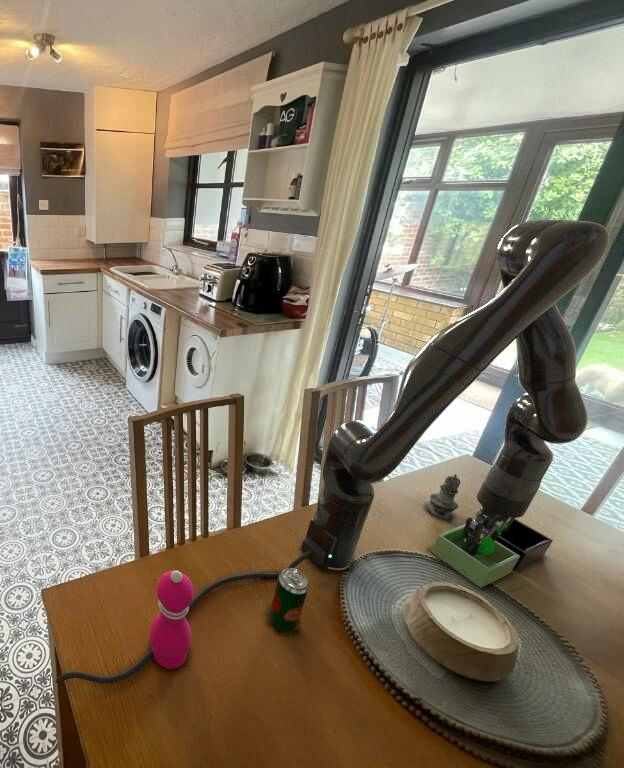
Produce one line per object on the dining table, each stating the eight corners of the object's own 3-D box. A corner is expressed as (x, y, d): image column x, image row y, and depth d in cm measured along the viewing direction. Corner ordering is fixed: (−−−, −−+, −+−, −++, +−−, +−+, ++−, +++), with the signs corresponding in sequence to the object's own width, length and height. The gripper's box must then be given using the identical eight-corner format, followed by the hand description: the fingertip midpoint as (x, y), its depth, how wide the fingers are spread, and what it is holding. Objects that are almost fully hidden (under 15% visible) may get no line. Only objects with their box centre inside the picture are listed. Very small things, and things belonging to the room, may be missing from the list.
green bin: (480, 588, 85) (490, 570, 83) (430, 551, 94) (438, 535, 91) (510, 573, 88) (520, 556, 86) (459, 539, 97) (467, 523, 95)
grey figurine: (458, 521, 102) (476, 483, 97) (431, 518, 103) (448, 480, 98) (445, 505, 107) (462, 468, 102) (420, 502, 108) (436, 465, 103)
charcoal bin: (515, 570, 89) (525, 553, 87) (464, 537, 98) (472, 520, 95) (542, 556, 92) (553, 540, 90) (491, 525, 101) (499, 509, 99)
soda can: (283, 639, 75) (296, 595, 70) (262, 616, 79) (273, 572, 74) (302, 627, 77) (316, 583, 72) (281, 605, 81) (292, 562, 76)
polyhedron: (493, 563, 87) (502, 547, 85) (464, 555, 89) (472, 539, 86) (485, 546, 91) (494, 530, 89) (458, 539, 93) (466, 523, 91)
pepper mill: (179, 680, 69) (189, 601, 60) (141, 657, 72) (145, 578, 64) (195, 644, 74) (206, 566, 66) (159, 624, 78) (165, 547, 69)
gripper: (508, 469, 88) (477, 528, 95) (465, 484, 83) (436, 546, 90) (552, 490, 81) (516, 552, 89) (508, 509, 77) (474, 572, 84)
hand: (476, 548), depth 89 cm, fingers closed on polyhedron, 5 cm apart
